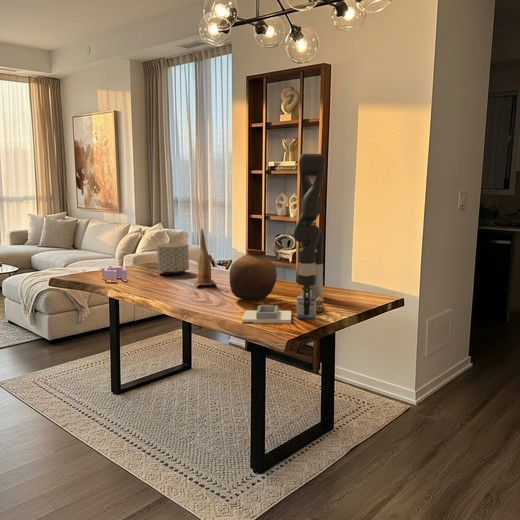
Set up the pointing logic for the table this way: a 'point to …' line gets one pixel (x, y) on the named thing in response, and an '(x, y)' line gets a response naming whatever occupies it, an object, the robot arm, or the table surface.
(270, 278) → the pottery
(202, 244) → the brown spire tower
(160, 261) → the planter
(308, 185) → the robot arm
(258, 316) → the holder
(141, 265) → the table surface
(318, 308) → the mineral formation
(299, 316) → the medicine box
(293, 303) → the table surface
